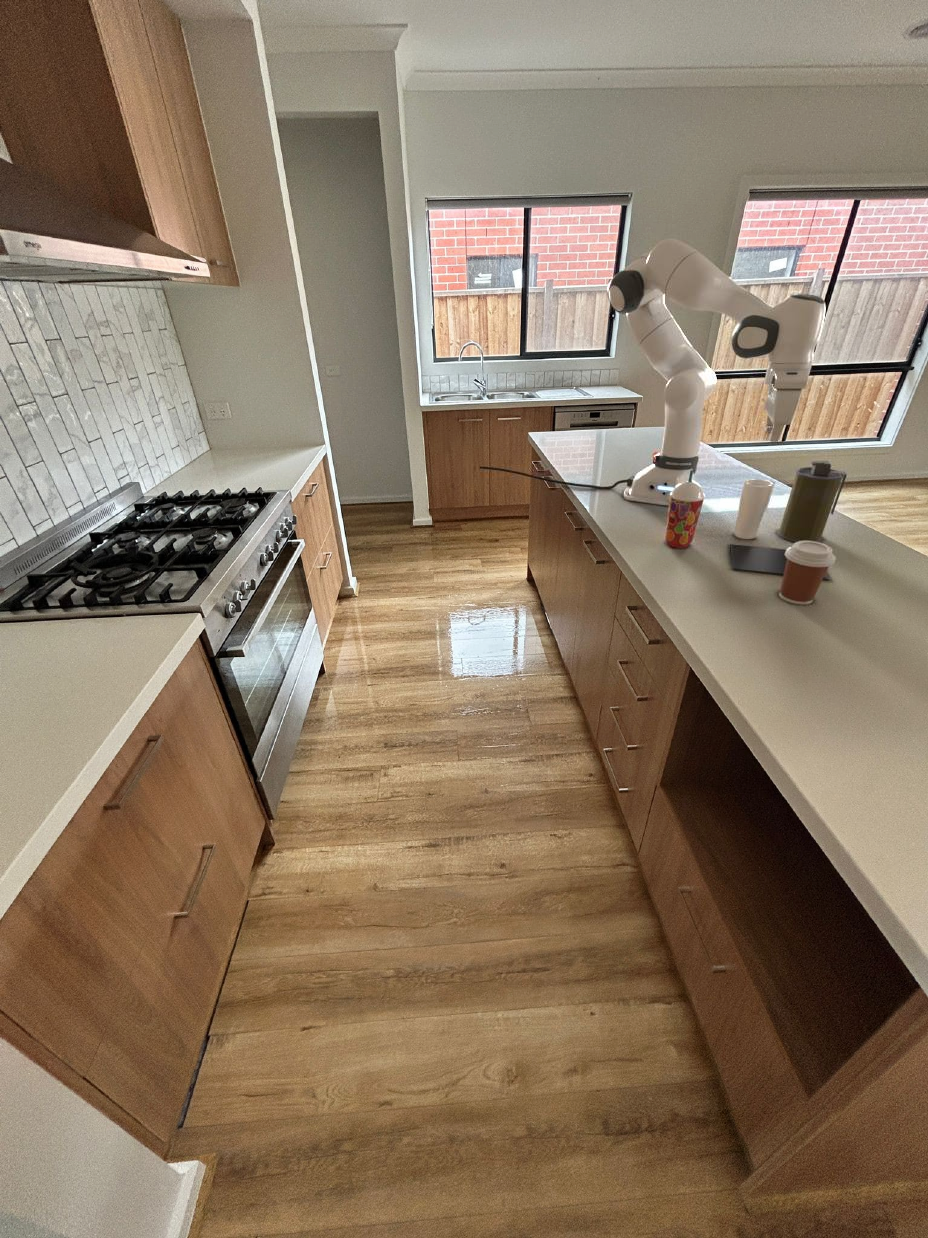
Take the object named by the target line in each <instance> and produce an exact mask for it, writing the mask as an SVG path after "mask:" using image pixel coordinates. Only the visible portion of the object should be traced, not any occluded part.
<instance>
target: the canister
mask: <svg viewBox="0 0 928 1238" xmlns="http://www.w3.org/2000/svg"><path fill="white" fill-rule="evenodd" d="M810 464H811V465H812V466H805V467H799V468H797V469H796V471H795V476H794V480H793V483H792V486H791V490H790V494H789V496H788V501H787V503H786V507H785V510H784V513H783V517H782V520H781V523H780V527H779V529H778V530H777V535H778V536H779V537H781V538H782V539H784V540H787V541H789V542H794V543H796V542H798V541H815V542H822V540H823V534H824V531H825V528H826V525H827V523H828V519H829V516H830V514H831V516H833V515H834V512H835V510H836V506H837V504H838V501H839V498H840V495H841V492H842V489H843V487H844V484H845V482H846V478H847V476H848V474H847V473H846V471H843V470H842V471H841V470H836V469H833V468H832V464H831V463H830V461H828V460H813V461H812V460H810Z"/></svg>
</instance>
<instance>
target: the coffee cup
mask: <svg viewBox="0 0 928 1238" xmlns="http://www.w3.org/2000/svg"><path fill="white" fill-rule="evenodd" d="M785 550H786V552H785V556H786V558H787V562H786V566H785V571H784V575H782V580H781V584H780V590H779V593H778V596H779V597H780V598H781V599H782V600H784V601H786V602H788V603H791V604H795V605H809V604H811V603H813V600H814V599H815V596H816V594H817V592H818V590H819V588H820V586H821V584H822V582H823V581H824V580H823V578H824V576H825V574H827V571H828V569H829V568H830V567H831V566H833V565H835V563H836V559H837V557H836V556H835V555H834V554H833V549H832V547H831V546H829V545H827V544H826V543H823V542H821V541H819V542H815V541H798V542H794V543H793V545H792V546H790V547H787V548H786V549H785Z"/></svg>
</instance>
